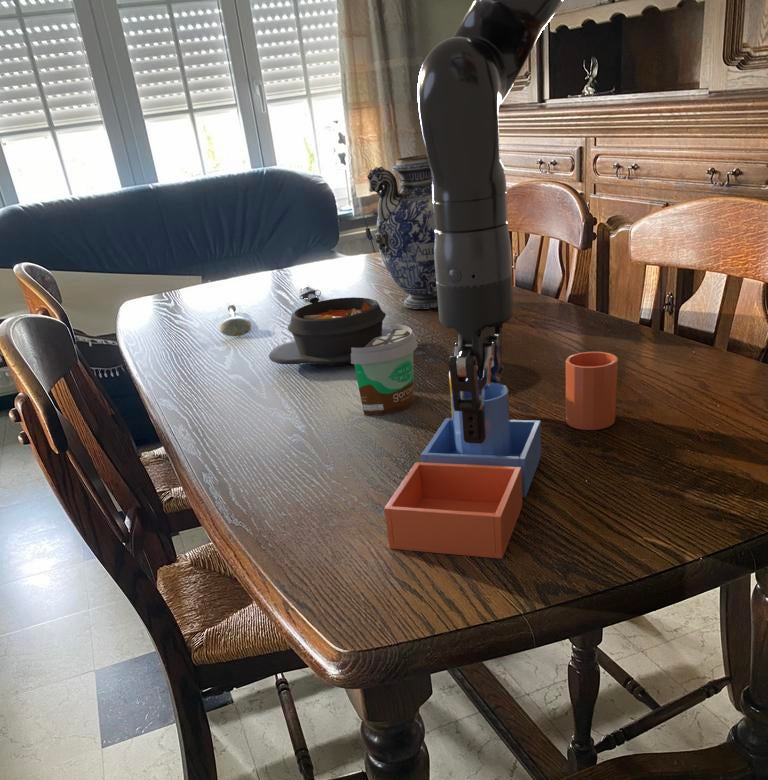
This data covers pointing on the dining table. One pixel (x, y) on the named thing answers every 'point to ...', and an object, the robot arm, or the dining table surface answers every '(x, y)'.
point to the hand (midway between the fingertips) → (481, 428)
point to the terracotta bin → (455, 509)
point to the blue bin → (522, 455)
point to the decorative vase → (407, 228)
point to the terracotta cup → (591, 390)
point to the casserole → (330, 331)
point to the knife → (310, 294)
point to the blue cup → (487, 424)
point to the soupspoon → (235, 324)
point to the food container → (386, 371)
